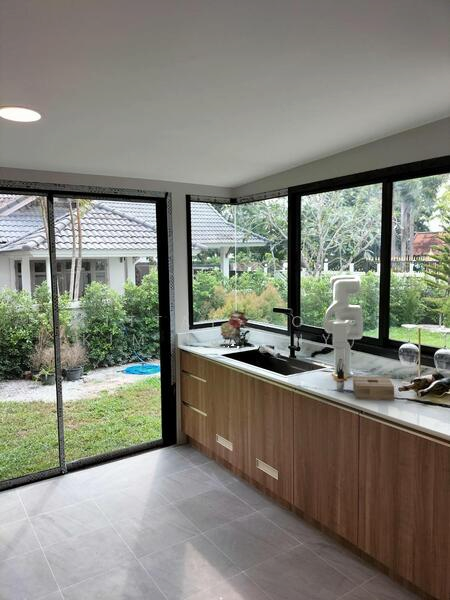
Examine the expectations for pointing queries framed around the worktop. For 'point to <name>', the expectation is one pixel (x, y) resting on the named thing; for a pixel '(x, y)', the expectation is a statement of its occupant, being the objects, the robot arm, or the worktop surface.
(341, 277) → the robot arm
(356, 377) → the hitch block
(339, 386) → the pin
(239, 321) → the rose bouquet
